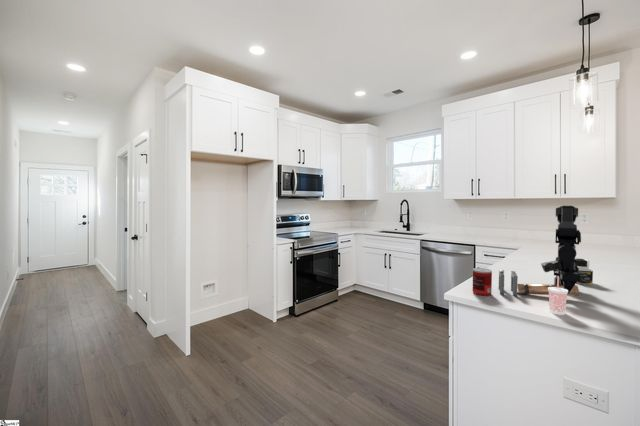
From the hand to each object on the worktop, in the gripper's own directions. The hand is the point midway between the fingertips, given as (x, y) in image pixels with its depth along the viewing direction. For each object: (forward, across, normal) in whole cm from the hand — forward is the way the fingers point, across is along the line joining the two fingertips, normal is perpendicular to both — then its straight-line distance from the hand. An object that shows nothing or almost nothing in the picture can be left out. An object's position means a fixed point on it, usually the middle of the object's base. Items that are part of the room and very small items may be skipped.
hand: (565, 292), depth 127 cm
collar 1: (+3, 0, -24) cm, 24 cm away
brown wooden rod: (+2, 0, -6) cm, 7 cm away
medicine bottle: (+3, -35, +14) cm, 38 cm away
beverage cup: (+3, +20, -7) cm, 21 cm away
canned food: (+3, +7, -32) cm, 32 cm away
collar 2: (+3, 0, -18) cm, 19 cm away
